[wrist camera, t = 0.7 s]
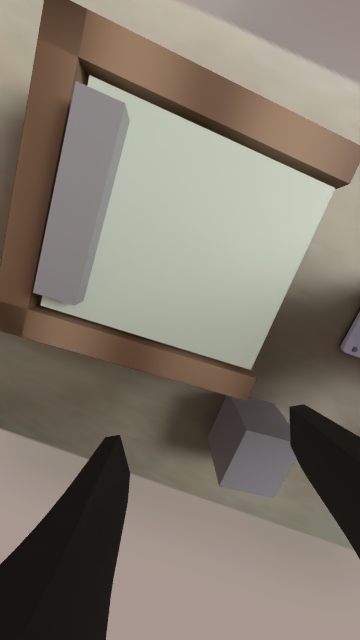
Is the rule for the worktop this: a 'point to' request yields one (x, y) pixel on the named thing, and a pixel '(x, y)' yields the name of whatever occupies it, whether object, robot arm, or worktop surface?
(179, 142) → the trapdoor
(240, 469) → the grey cube
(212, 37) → the worktop surface
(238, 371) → the frame
